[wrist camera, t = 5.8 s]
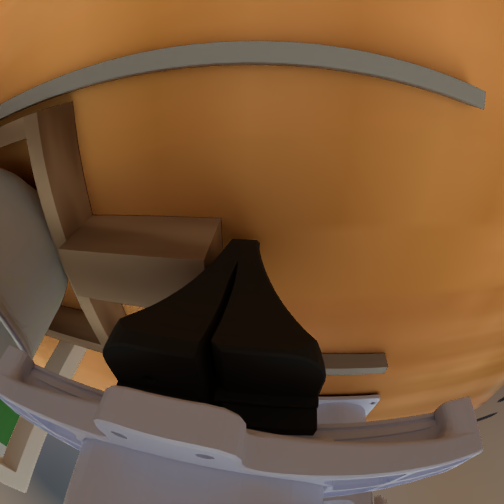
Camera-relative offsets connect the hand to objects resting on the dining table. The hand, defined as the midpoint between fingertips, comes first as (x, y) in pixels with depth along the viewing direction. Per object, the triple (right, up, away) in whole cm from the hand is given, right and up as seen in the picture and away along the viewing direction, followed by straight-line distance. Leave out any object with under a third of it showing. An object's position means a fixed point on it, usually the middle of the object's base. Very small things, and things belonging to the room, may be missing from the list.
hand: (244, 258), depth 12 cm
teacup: (-15, +1, +2) cm, 16 cm away
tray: (-13, +1, +2) cm, 14 cm away
